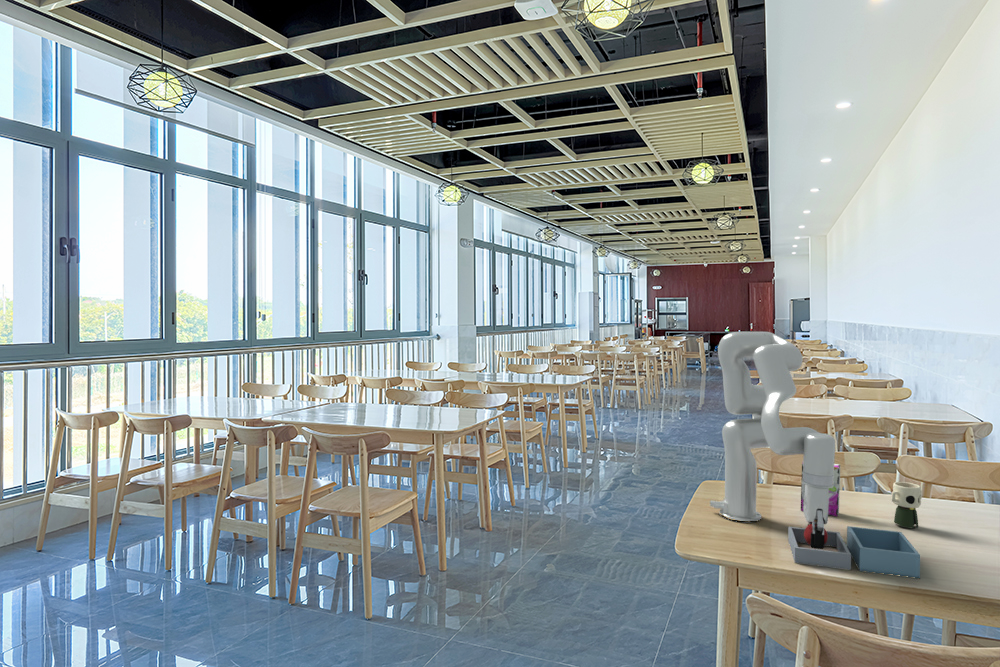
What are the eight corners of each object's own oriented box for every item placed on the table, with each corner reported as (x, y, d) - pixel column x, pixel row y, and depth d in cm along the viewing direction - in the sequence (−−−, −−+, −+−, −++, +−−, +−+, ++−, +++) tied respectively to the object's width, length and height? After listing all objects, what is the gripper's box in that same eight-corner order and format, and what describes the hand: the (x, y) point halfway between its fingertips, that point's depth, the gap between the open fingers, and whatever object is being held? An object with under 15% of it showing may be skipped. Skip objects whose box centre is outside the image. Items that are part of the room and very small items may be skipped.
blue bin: (859, 571, 154) (860, 547, 154) (846, 547, 170) (847, 526, 170) (919, 578, 150) (920, 554, 150) (900, 553, 166) (901, 531, 166)
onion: (830, 554, 163) (831, 524, 162) (806, 552, 164) (808, 523, 163) (823, 545, 168) (824, 517, 168) (800, 543, 169) (802, 515, 169)
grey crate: (794, 562, 159) (795, 547, 159) (788, 540, 175) (788, 526, 175) (850, 569, 155) (851, 554, 155) (838, 546, 171) (839, 532, 171)
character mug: (901, 531, 182) (902, 489, 182) (881, 523, 189) (882, 482, 189) (930, 529, 185) (931, 486, 184) (910, 521, 192) (911, 480, 191)
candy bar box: (800, 511, 202) (801, 462, 201) (802, 507, 206) (802, 459, 205) (838, 517, 196) (839, 466, 195) (839, 513, 200) (840, 463, 199)
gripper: (798, 469, 174) (796, 530, 175) (806, 486, 158) (804, 553, 159) (828, 472, 172) (825, 534, 173) (839, 489, 156) (836, 558, 157)
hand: (815, 542), depth 166 cm, fingers closed on onion, 5 cm apart
